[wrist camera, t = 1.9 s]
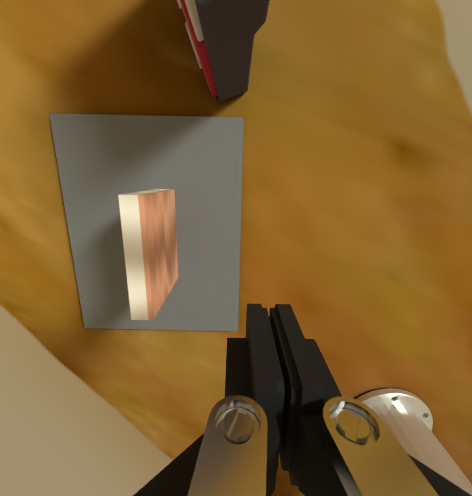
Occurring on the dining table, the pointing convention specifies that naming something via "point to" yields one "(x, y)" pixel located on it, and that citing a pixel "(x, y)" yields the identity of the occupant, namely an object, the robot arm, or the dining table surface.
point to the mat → (186, 210)
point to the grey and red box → (224, 40)
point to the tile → (149, 249)
